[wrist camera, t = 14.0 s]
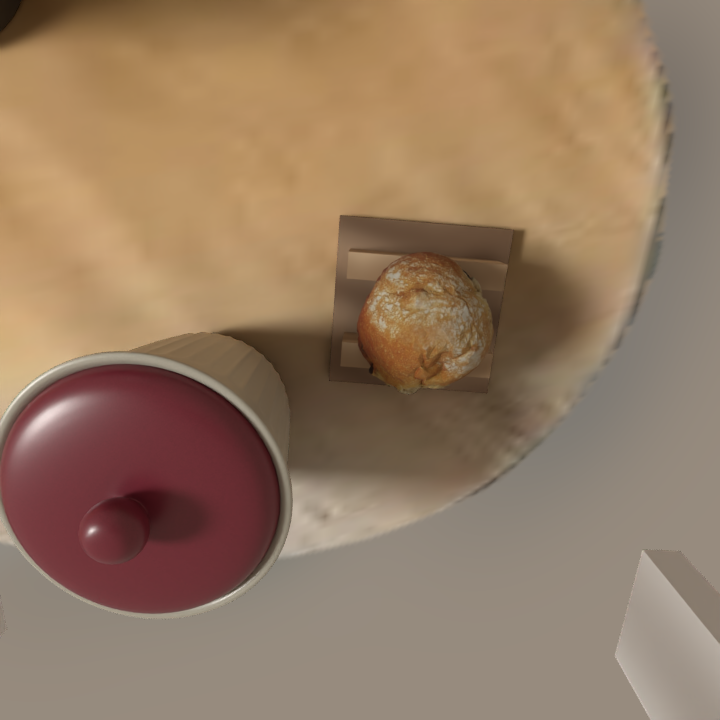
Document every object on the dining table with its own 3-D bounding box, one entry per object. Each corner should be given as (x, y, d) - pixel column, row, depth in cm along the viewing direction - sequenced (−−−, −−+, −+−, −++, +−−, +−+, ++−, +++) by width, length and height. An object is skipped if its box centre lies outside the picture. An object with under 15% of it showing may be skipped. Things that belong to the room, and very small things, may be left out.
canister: (84, 337, 44) (-152, 444, 24) (275, 273, 42) (192, 329, 22) (169, 507, 49) (32, 715, 29) (344, 456, 47) (327, 639, 27)
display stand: (340, 215, 41) (337, 215, 37) (510, 229, 41) (526, 231, 37) (329, 376, 45) (325, 394, 41) (484, 389, 45) (497, 408, 41)
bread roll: (485, 322, 42) (543, 307, 35) (416, 418, 40) (462, 426, 33) (398, 243, 41) (439, 210, 33) (321, 340, 38) (346, 329, 31)
